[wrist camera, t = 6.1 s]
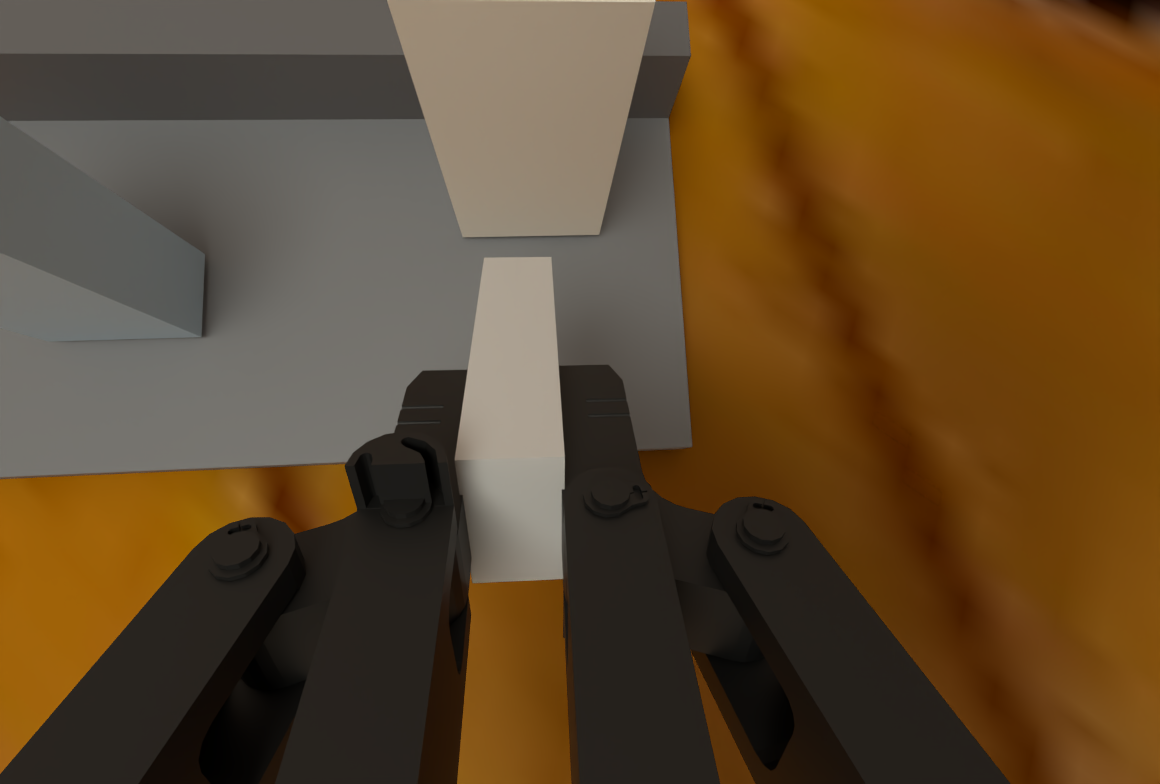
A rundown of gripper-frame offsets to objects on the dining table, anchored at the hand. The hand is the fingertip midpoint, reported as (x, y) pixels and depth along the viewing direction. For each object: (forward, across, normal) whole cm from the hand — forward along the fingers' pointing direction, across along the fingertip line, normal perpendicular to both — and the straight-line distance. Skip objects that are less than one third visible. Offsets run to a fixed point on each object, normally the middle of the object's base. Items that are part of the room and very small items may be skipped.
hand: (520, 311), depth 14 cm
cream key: (+10, 0, -1) cm, 10 cm away
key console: (+10, -7, -3) cm, 12 cm away
